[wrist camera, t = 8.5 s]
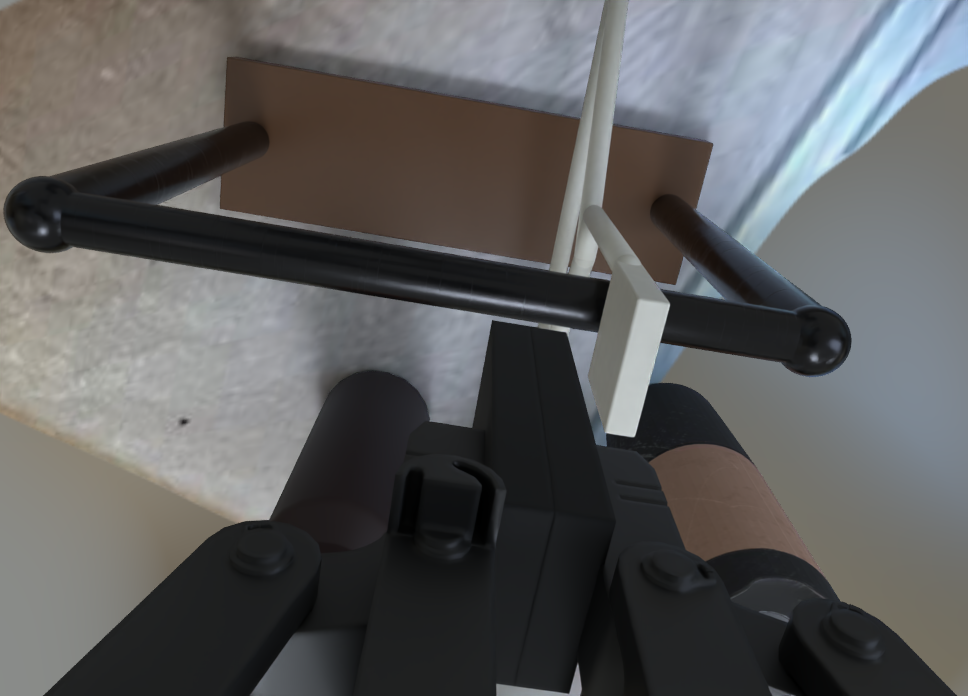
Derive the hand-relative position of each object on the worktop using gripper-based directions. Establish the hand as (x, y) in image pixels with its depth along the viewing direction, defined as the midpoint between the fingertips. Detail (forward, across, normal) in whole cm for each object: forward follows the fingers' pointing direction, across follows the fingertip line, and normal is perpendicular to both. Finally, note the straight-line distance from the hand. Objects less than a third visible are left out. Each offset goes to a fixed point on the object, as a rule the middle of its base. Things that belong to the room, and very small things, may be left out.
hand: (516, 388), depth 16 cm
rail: (+30, -2, -1) cm, 30 cm away
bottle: (+30, -5, -17) cm, 35 cm away
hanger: (+21, +3, -1) cm, 21 cm away
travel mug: (+30, +13, -15) cm, 36 cm away
